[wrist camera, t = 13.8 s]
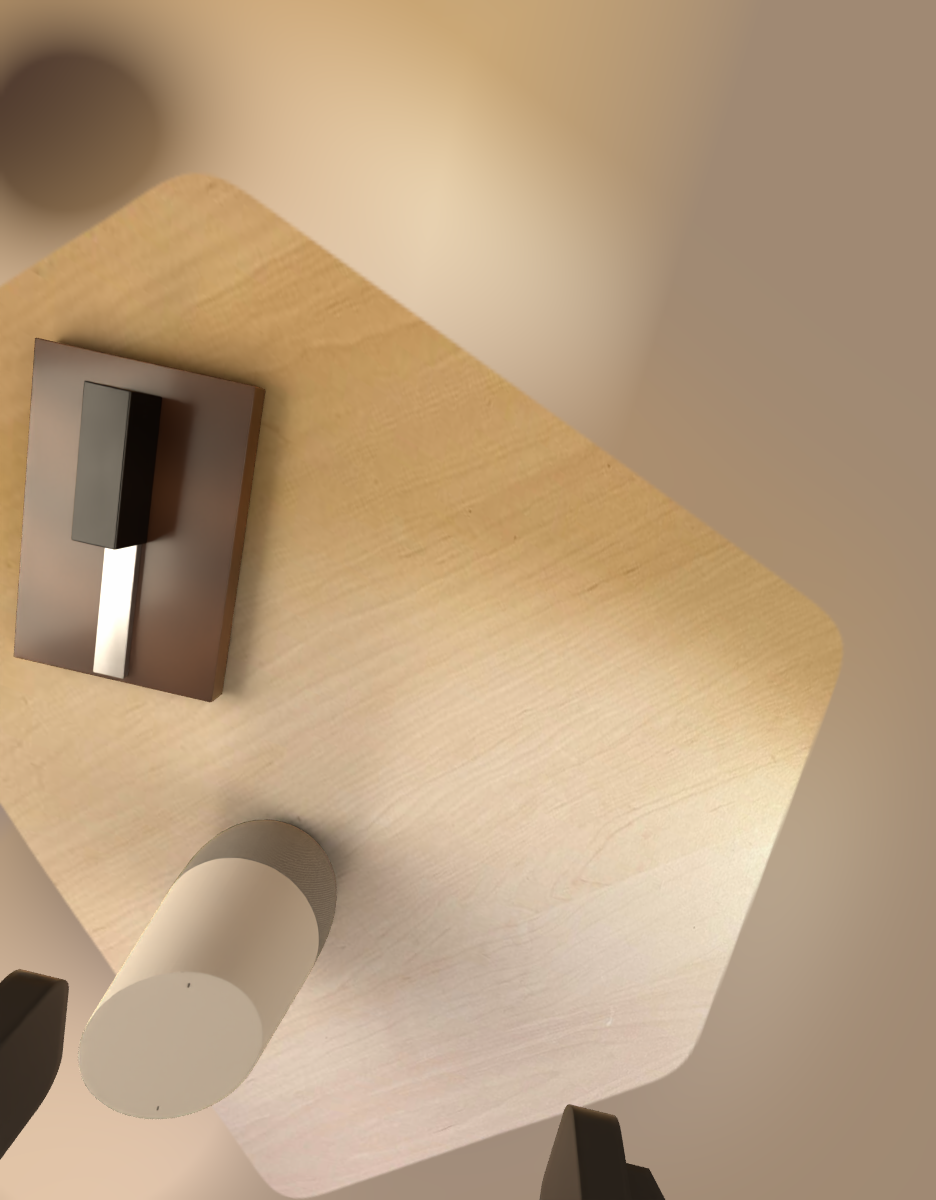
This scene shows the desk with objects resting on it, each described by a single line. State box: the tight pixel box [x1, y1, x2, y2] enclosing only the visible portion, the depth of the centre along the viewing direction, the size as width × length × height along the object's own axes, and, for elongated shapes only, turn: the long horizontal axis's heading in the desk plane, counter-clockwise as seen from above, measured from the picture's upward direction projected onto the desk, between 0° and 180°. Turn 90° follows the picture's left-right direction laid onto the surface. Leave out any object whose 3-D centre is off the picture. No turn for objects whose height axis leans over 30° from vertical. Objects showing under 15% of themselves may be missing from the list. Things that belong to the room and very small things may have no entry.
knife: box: [71, 381, 162, 679], centre depth 35 cm, size 16×2×3 cm, turn 168°
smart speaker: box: [78, 820, 337, 1119], centre depth 35 cm, size 10×9×14 cm
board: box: [14, 338, 265, 702], centre depth 37 cm, size 18×12×2 cm, turn 168°
